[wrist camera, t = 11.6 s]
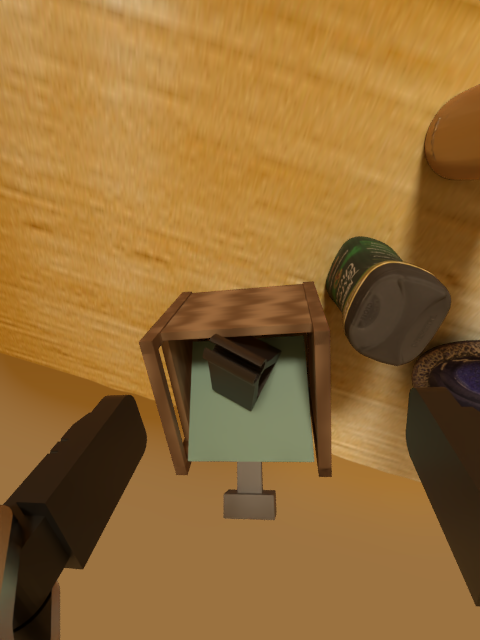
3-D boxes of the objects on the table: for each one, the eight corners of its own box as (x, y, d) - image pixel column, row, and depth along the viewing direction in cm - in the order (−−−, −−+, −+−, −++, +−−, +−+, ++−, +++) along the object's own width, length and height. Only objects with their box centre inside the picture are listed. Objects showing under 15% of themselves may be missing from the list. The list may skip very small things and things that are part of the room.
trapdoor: (303, 339, 45) (304, 333, 42) (317, 514, 37) (319, 521, 35) (196, 345, 47) (190, 340, 44) (190, 510, 40) (182, 516, 37)
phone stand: (251, 411, 41) (236, 413, 29) (212, 389, 42) (184, 382, 31) (282, 351, 42) (279, 331, 31) (244, 332, 44) (228, 305, 32)
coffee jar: (344, 228, 42) (388, 260, 25) (399, 247, 42) (480, 290, 25) (316, 293, 46) (337, 357, 29) (367, 309, 46) (417, 383, 29)
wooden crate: (313, 281, 45) (330, 330, 30) (316, 393, 53) (331, 476, 38) (182, 292, 48) (138, 341, 33) (204, 396, 56) (176, 474, 41)
